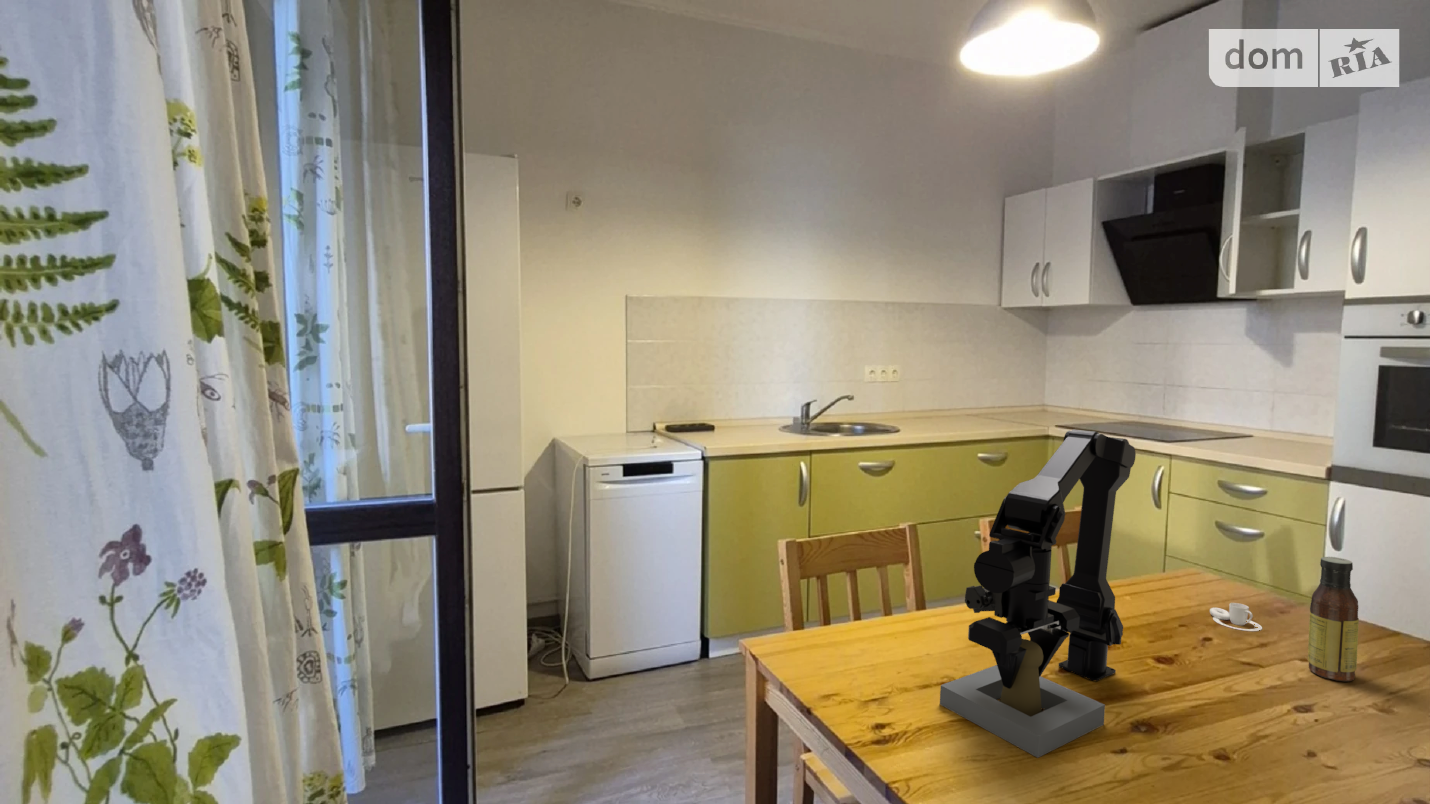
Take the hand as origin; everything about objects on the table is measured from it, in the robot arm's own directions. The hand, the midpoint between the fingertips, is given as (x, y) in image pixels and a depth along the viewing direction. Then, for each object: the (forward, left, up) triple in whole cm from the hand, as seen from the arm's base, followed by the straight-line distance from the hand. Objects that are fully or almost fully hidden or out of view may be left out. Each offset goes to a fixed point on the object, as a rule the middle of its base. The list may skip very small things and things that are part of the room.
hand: (1021, 681), depth 103 cm
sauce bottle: (-58, +19, -5) cm, 61 cm away
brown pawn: (0, 0, -5) cm, 5 cm away
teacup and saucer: (-73, 0, -6) cm, 74 cm away
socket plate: (0, 0, -5) cm, 5 cm away
